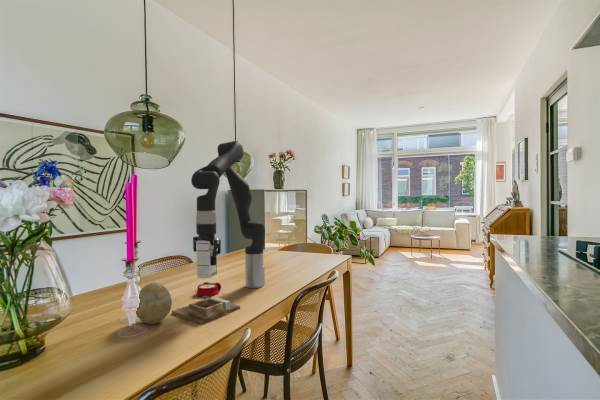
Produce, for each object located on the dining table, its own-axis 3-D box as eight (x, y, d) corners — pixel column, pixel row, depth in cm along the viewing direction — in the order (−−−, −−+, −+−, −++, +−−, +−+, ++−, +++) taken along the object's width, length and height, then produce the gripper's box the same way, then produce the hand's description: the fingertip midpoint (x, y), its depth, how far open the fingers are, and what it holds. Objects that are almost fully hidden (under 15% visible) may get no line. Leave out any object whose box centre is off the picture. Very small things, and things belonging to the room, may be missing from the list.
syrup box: (210, 278, 128) (210, 241, 127) (196, 278, 129) (195, 240, 128) (217, 275, 133) (216, 239, 133) (203, 274, 134) (203, 238, 134)
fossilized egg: (177, 322, 124) (177, 282, 124) (142, 332, 116) (141, 289, 115) (163, 313, 134) (163, 276, 133) (129, 322, 125) (129, 282, 124)
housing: (211, 300, 149) (211, 289, 149) (240, 308, 139) (240, 297, 139) (171, 313, 133) (171, 302, 133) (201, 324, 123) (200, 311, 123)
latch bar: (213, 304, 140) (213, 296, 140) (230, 308, 135) (230, 301, 134) (209, 305, 138) (209, 298, 138) (225, 310, 133) (225, 302, 132)
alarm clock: (191, 290, 154) (203, 275, 168) (192, 302, 155) (205, 286, 170) (213, 290, 153) (223, 275, 167) (214, 302, 154) (224, 286, 169)
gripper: (186, 222, 131) (187, 263, 132) (210, 224, 123) (211, 268, 124) (202, 220, 138) (202, 260, 138) (226, 222, 129) (226, 264, 130)
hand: (206, 263), depth 131 cm, fingers closed on syrup box, 7 cm apart
